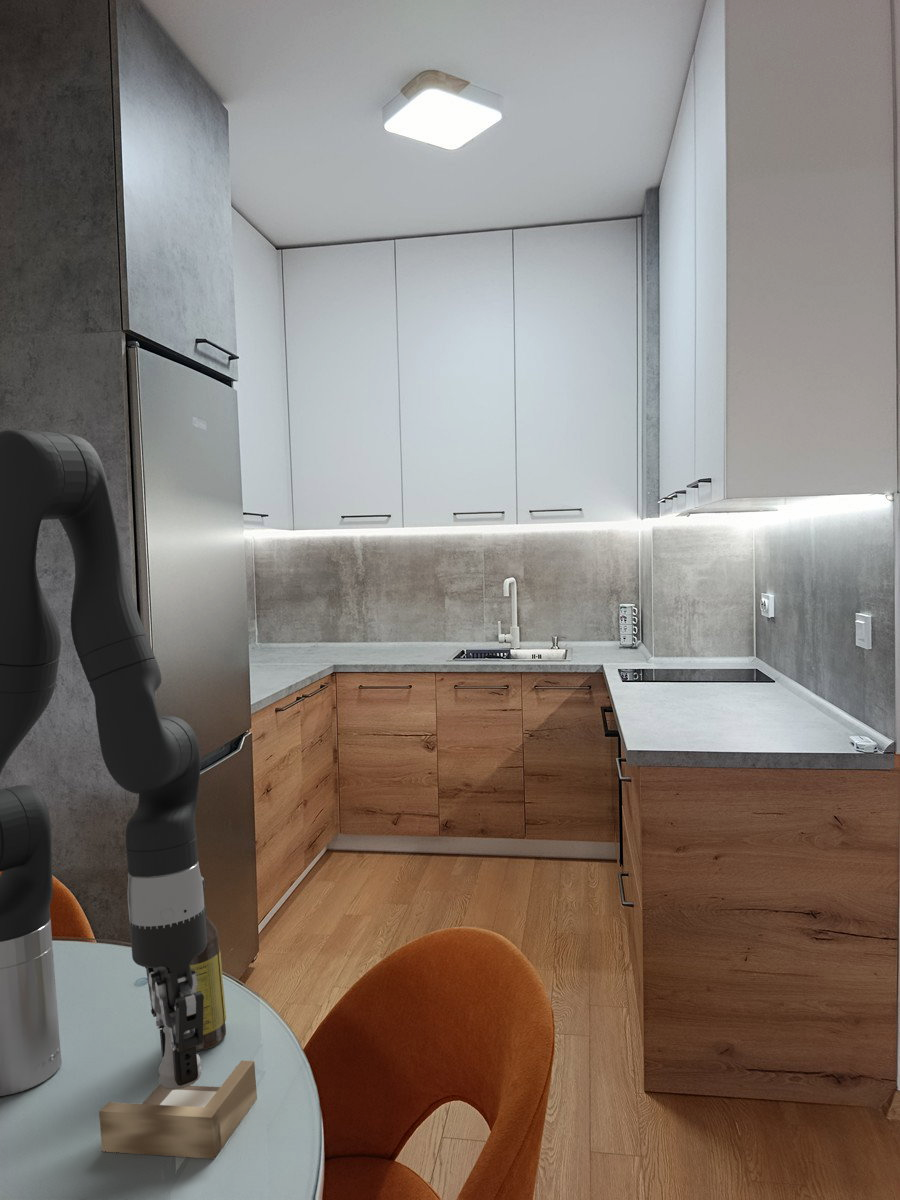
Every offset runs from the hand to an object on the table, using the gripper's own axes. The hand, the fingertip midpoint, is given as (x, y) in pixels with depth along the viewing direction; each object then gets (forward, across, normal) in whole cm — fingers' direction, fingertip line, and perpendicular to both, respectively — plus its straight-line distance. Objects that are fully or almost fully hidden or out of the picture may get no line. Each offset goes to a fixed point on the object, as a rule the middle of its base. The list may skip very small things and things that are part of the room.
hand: (179, 1070), depth 90 cm
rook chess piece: (+1, 0, 0) cm, 1 cm away
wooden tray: (+4, -2, 0) cm, 5 cm away
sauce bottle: (+5, +14, -6) cm, 16 cm away
